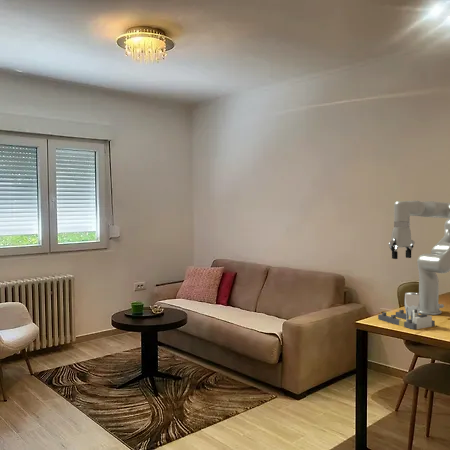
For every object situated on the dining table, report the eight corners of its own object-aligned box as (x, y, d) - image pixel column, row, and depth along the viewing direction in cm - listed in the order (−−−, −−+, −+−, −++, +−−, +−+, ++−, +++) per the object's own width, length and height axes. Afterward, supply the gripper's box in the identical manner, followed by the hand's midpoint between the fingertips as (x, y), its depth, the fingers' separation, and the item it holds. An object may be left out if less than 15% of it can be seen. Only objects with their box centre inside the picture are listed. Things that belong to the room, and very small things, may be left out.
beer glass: (404, 322, 222) (404, 291, 221) (419, 323, 219) (419, 292, 218) (404, 325, 215) (404, 294, 215) (420, 326, 212) (420, 295, 212)
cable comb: (398, 316, 233) (398, 304, 233) (434, 326, 214) (434, 313, 213) (378, 319, 227) (378, 307, 227) (413, 329, 207) (413, 316, 207)
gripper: (408, 224, 238) (407, 256, 239) (383, 225, 231) (383, 258, 232) (419, 225, 232) (419, 258, 232) (395, 225, 224) (394, 260, 225)
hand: (401, 258), depth 232 cm, fingers open, 9 cm apart
